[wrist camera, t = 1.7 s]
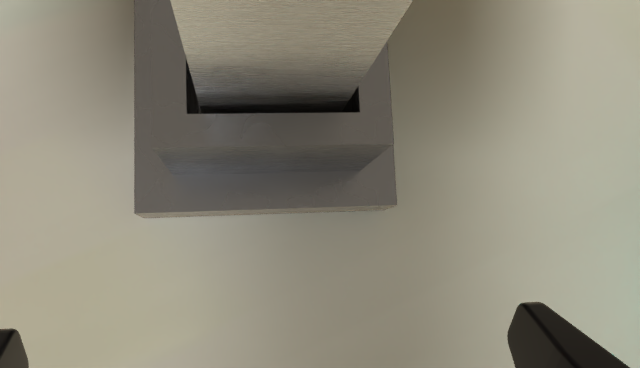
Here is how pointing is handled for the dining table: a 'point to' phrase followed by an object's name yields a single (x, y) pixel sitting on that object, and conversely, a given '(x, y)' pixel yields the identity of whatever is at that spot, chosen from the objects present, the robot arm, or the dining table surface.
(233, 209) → the stand base
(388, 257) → the dining table surface
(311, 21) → the column
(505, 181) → the dining table surface
